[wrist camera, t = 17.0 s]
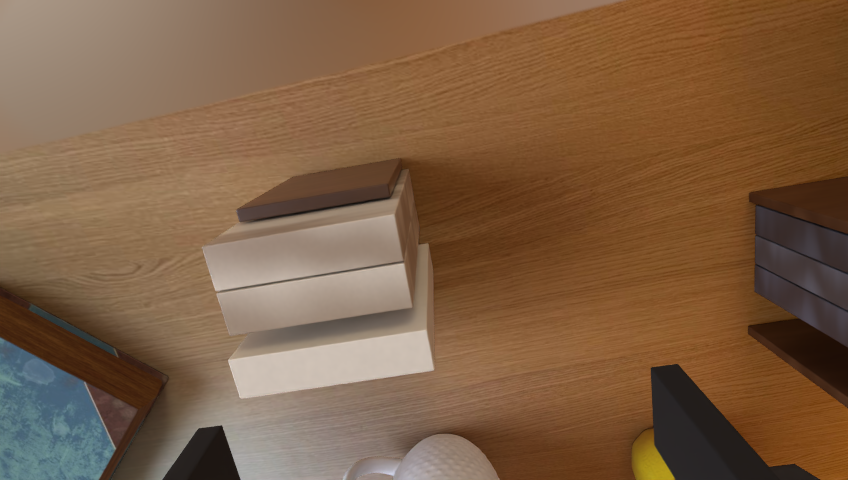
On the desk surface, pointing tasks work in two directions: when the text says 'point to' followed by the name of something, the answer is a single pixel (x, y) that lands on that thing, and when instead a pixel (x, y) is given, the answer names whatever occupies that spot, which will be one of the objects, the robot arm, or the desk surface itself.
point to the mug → (431, 462)
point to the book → (65, 397)
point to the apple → (648, 459)
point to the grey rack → (806, 278)
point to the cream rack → (319, 250)
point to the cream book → (341, 347)
